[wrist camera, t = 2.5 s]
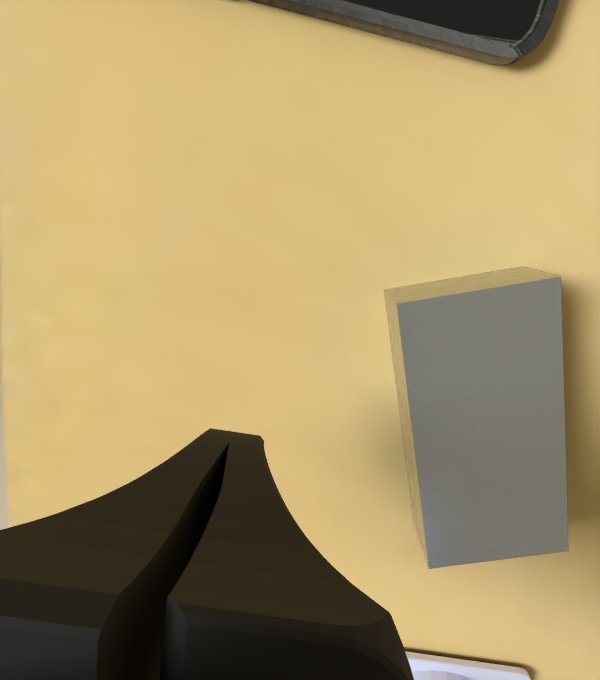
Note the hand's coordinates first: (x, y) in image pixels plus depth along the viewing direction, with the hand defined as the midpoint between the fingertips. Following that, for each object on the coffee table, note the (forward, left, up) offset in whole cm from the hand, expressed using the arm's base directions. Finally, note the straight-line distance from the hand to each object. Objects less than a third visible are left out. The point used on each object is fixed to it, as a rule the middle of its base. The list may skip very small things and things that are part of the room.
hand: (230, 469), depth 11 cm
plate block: (0, -8, -7) cm, 11 cm away
